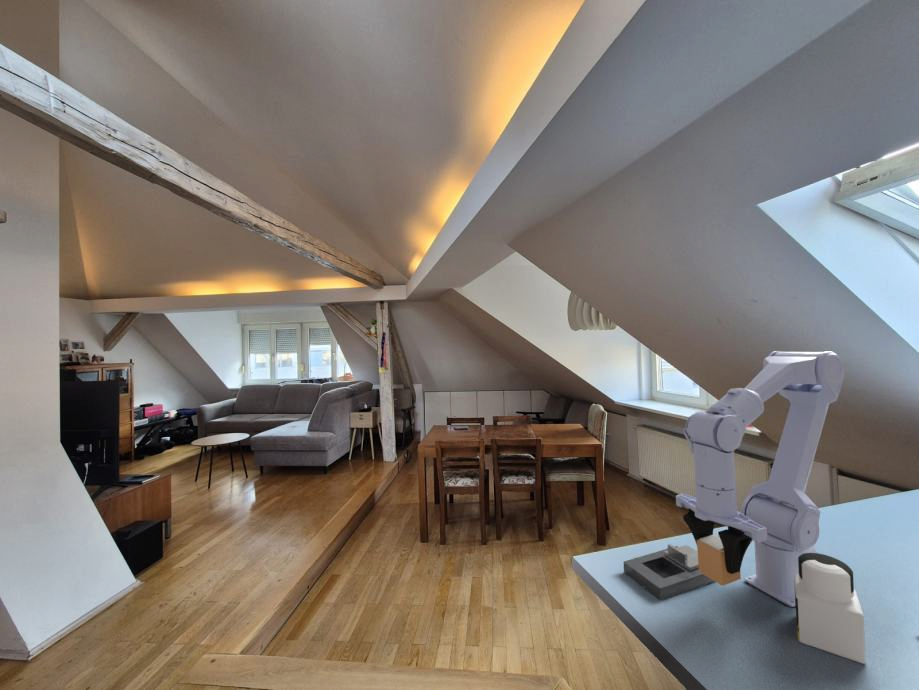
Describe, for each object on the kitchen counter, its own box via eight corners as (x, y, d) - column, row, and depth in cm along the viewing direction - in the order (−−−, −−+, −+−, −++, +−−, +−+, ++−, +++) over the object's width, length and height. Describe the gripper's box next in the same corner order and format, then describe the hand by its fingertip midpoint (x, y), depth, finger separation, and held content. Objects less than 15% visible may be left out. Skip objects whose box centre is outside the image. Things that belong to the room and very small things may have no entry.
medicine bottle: (795, 614, 63) (792, 542, 63) (857, 633, 59) (853, 556, 58) (798, 642, 58) (794, 564, 57) (866, 666, 53) (862, 580, 53)
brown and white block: (716, 565, 67) (714, 532, 67) (740, 578, 63) (738, 544, 63) (698, 571, 66) (696, 538, 66) (722, 585, 62) (720, 550, 62)
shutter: (686, 547, 80) (685, 535, 80) (713, 563, 74) (712, 550, 74) (663, 554, 78) (663, 542, 78) (690, 570, 72) (689, 557, 72)
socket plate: (677, 556, 81) (676, 544, 81) (717, 580, 73) (717, 567, 73) (624, 572, 77) (623, 560, 77) (660, 600, 68) (659, 586, 68)
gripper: (661, 474, 70) (665, 547, 70) (742, 505, 56) (746, 596, 56) (690, 468, 72) (694, 539, 72) (774, 496, 59) (779, 583, 59)
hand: (719, 563), depth 65 cm, fingers closed on brown and white block, 4 cm apart
